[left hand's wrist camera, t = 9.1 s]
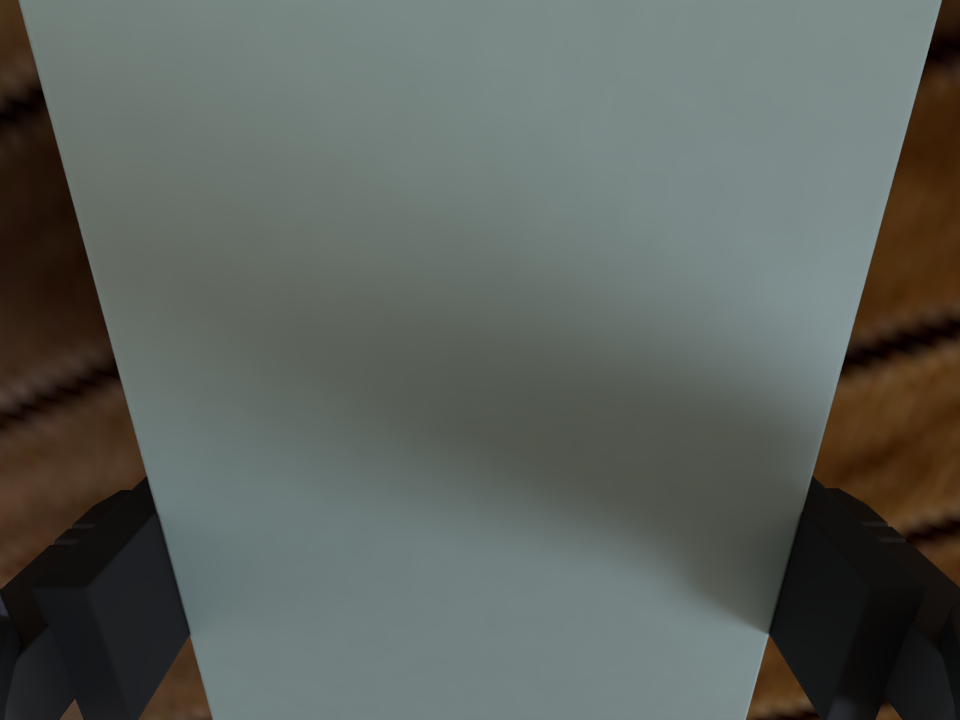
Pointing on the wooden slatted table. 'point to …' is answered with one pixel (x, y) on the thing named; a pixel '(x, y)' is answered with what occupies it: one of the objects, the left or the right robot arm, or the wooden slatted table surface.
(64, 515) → the wooden slatted table surface
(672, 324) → the cabinet
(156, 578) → the left robot arm
